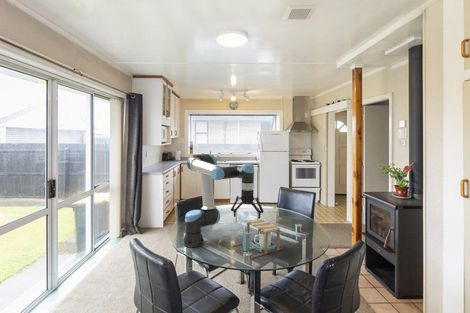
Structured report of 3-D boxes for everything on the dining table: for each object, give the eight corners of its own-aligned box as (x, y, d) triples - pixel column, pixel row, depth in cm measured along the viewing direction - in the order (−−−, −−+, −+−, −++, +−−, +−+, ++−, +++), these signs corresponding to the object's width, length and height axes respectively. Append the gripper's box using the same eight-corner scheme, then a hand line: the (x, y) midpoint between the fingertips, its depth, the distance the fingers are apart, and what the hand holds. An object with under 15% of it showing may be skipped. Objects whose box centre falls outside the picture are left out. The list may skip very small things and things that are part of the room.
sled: (236, 246, 186) (237, 229, 185) (262, 239, 198) (262, 224, 198) (252, 256, 171) (252, 238, 170) (278, 248, 183) (279, 231, 182)
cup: (272, 248, 184) (272, 234, 183) (255, 249, 182) (255, 235, 181) (269, 243, 192) (269, 230, 191) (252, 244, 190) (253, 230, 189)
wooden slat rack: (232, 245, 187) (232, 223, 186) (263, 238, 202) (263, 217, 201) (251, 258, 168) (251, 234, 166) (283, 249, 182) (284, 226, 181)
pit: (266, 240, 198) (266, 240, 198) (273, 238, 202) (273, 238, 202) (278, 247, 186) (279, 246, 186) (286, 245, 190) (286, 244, 190)
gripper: (226, 189, 160) (226, 223, 162) (267, 191, 156) (266, 226, 158) (228, 187, 167) (228, 219, 169) (268, 189, 163) (267, 222, 165)
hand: (246, 222), depth 164 cm, fingers open, 13 cm apart
